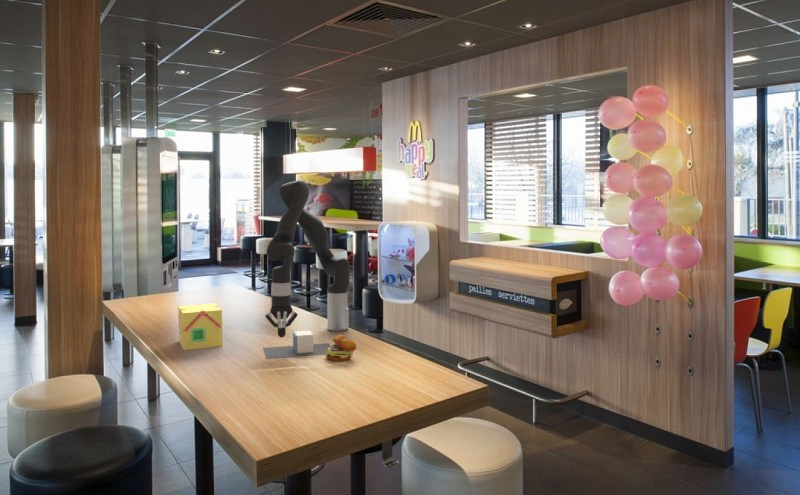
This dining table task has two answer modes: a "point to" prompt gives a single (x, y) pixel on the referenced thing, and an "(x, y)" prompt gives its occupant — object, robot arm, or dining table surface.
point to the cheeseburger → (341, 349)
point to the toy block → (200, 326)
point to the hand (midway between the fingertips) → (281, 336)
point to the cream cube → (302, 341)
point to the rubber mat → (289, 352)
